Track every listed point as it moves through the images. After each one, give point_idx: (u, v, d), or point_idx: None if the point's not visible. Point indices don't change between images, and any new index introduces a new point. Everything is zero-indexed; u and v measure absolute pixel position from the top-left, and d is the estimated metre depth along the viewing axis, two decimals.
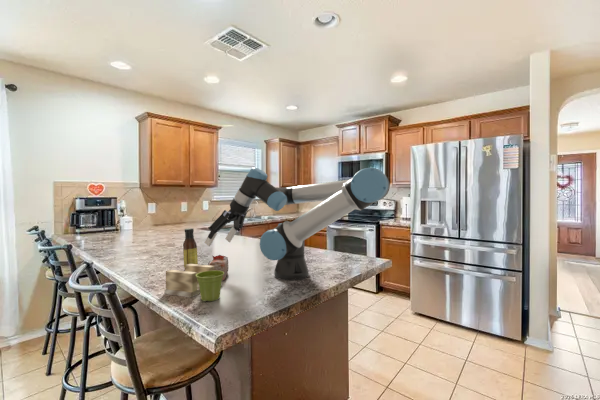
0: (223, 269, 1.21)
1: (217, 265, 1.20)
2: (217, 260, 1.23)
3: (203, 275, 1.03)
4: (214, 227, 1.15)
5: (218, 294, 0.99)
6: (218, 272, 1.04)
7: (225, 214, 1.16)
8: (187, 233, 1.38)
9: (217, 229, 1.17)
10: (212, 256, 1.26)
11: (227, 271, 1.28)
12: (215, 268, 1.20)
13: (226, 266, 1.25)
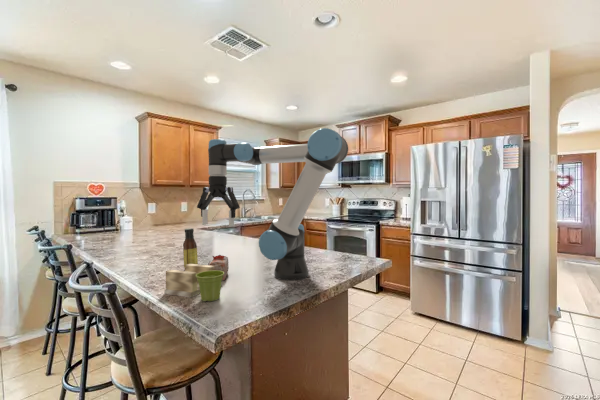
0: (223, 269, 1.21)
1: (217, 265, 1.20)
2: (217, 260, 1.23)
3: (203, 275, 1.03)
4: None
5: (218, 294, 0.99)
6: (218, 272, 1.04)
7: None
8: (187, 233, 1.38)
9: (202, 205, 1.27)
10: (212, 256, 1.26)
11: (227, 271, 1.28)
12: (215, 268, 1.20)
13: (226, 266, 1.25)
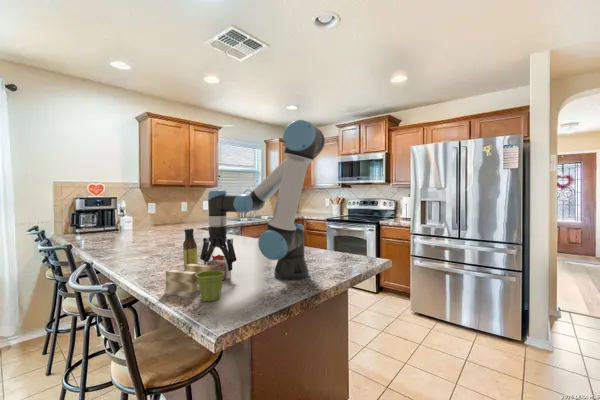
0: (223, 269, 1.21)
1: (217, 265, 1.20)
2: (217, 260, 1.23)
3: (203, 275, 1.03)
4: None
5: (218, 294, 0.99)
6: (218, 272, 1.04)
7: None
8: (187, 233, 1.38)
9: (204, 257, 1.27)
10: (212, 256, 1.26)
11: None
12: (215, 268, 1.20)
13: None
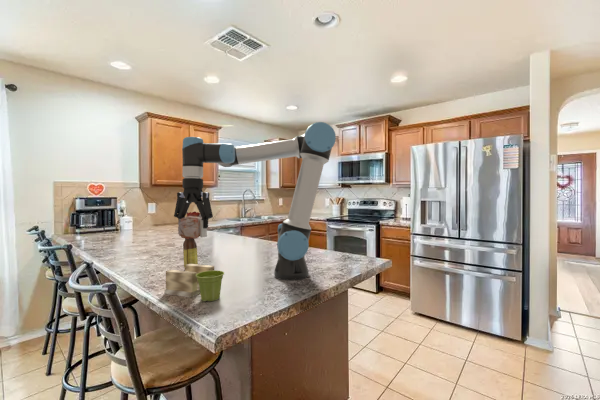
0: (196, 225, 1.07)
1: (189, 220, 1.06)
2: (190, 216, 1.09)
3: (203, 275, 1.03)
4: None
5: (218, 294, 0.99)
6: (218, 272, 1.04)
7: None
8: None
9: (178, 214, 1.13)
10: (186, 212, 1.12)
11: None
12: (187, 223, 1.06)
13: None
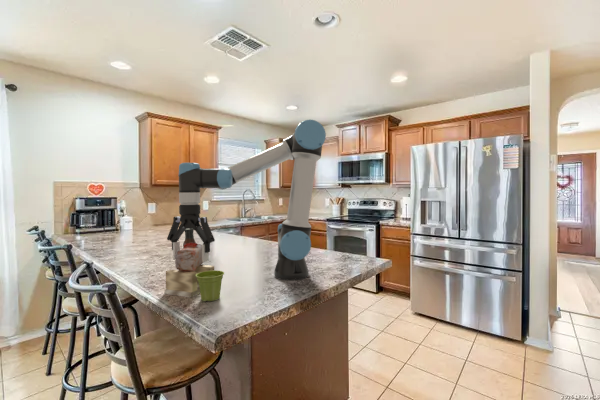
0: (194, 258, 1.05)
1: (186, 253, 1.04)
2: (188, 248, 1.07)
3: (203, 275, 1.03)
4: None
5: (218, 294, 0.99)
6: (218, 272, 1.04)
7: None
8: (187, 233, 1.38)
9: (172, 237, 1.12)
10: (183, 243, 1.10)
11: (201, 261, 1.12)
12: (184, 256, 1.04)
13: (199, 255, 1.09)
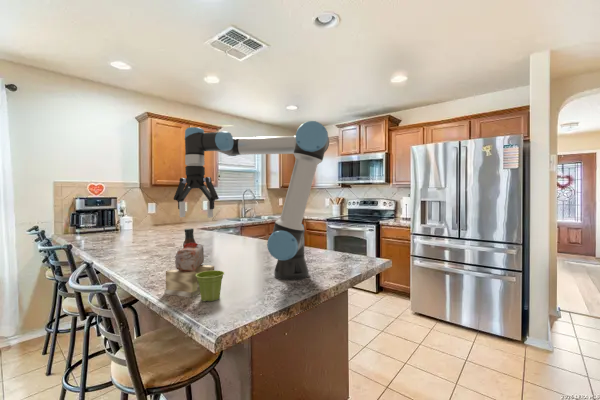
0: (194, 258, 1.05)
1: (186, 253, 1.04)
2: (188, 248, 1.07)
3: (203, 275, 1.03)
4: None
5: (218, 294, 0.99)
6: (218, 272, 1.04)
7: None
8: (187, 233, 1.38)
9: (178, 197, 1.22)
10: None
11: (201, 261, 1.12)
12: (184, 256, 1.04)
13: (199, 255, 1.09)
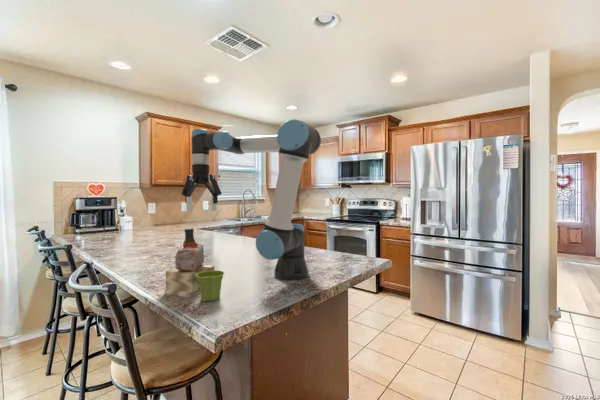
0: (194, 258, 1.05)
1: (186, 253, 1.04)
2: (188, 248, 1.07)
3: (203, 275, 1.03)
4: None
5: (218, 294, 0.99)
6: (218, 272, 1.04)
7: None
8: (187, 233, 1.38)
9: (186, 192, 1.34)
10: (183, 243, 1.10)
11: (201, 261, 1.12)
12: (184, 256, 1.04)
13: (199, 255, 1.09)
